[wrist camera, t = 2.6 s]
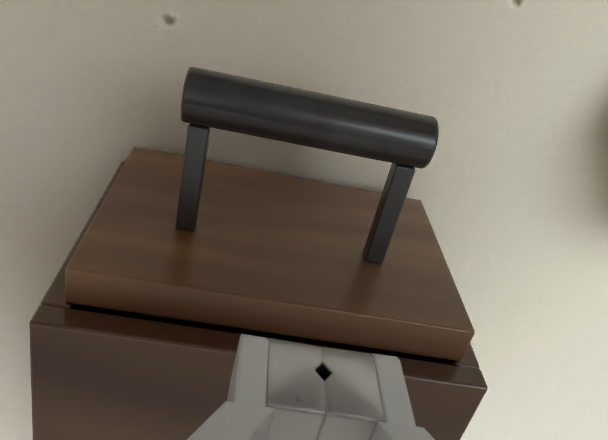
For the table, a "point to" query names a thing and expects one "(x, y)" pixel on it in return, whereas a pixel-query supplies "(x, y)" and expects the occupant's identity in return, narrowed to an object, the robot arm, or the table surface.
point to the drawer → (276, 231)
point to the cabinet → (180, 374)
